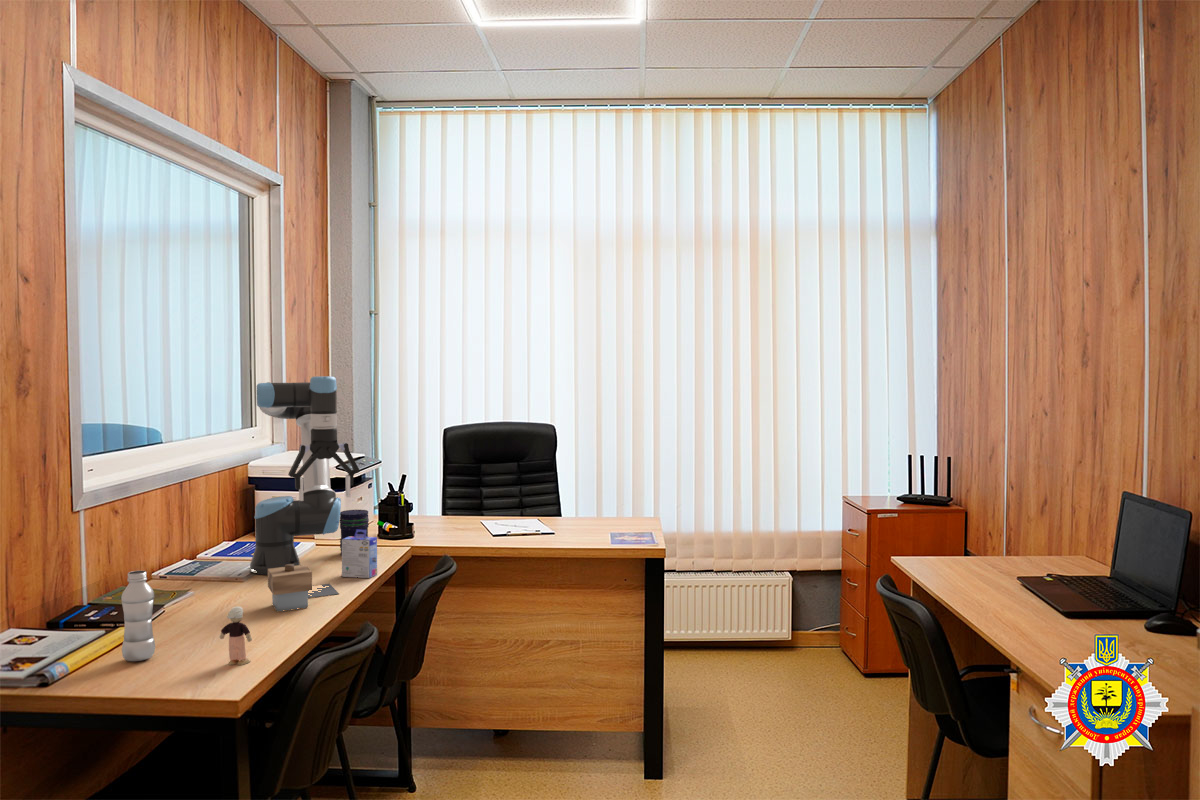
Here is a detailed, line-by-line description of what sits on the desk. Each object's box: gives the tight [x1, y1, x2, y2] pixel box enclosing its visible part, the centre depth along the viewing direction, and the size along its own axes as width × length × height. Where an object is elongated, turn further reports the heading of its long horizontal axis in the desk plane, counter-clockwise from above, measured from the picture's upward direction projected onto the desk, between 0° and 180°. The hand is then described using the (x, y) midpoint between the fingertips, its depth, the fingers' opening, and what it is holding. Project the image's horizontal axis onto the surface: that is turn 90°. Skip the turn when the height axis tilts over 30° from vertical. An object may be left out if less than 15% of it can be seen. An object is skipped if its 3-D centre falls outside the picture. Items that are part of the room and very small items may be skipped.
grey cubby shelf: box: [271, 591, 309, 612], centre depth 230 cm, size 8×8×5 cm
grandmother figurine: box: [218, 606, 253, 666], centre depth 186 cm, size 8×4×13 cm, turn 92°
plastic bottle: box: [120, 570, 156, 662], centre depth 188 cm, size 6×7×20 cm
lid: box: [267, 564, 313, 595], centre depth 230 cm, size 10×10×6 cm
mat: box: [308, 582, 340, 599], centre depth 245 cm, size 13×13×1 cm
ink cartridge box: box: [341, 529, 378, 579], centre depth 263 cm, size 10×6×14 cm, turn 78°
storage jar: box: [339, 509, 370, 556], centre depth 294 cm, size 10×10×15 cm
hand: (324, 498), depth 249 cm, fingers open, 13 cm apart
